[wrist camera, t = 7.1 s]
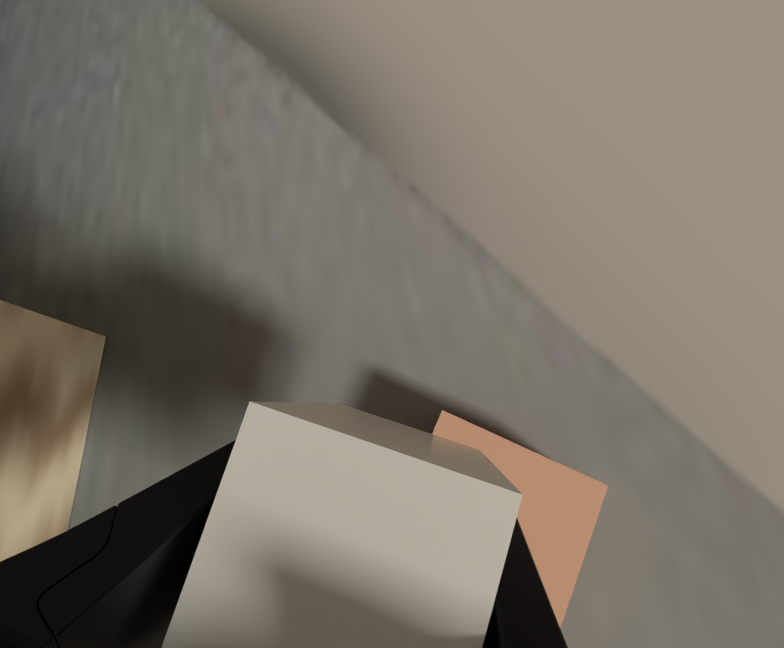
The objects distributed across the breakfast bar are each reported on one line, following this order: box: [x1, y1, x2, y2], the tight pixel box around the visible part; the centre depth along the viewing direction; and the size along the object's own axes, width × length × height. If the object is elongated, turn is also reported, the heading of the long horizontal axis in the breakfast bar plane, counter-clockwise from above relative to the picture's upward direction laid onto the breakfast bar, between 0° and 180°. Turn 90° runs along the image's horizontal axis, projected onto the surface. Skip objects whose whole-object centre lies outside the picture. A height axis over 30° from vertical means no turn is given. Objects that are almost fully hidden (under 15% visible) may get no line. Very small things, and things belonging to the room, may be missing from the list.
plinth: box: [432, 410, 608, 628], centre depth 20 cm, size 7×7×4 cm
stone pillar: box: [161, 401, 523, 648], centre depth 10 cm, size 4×4×7 cm
